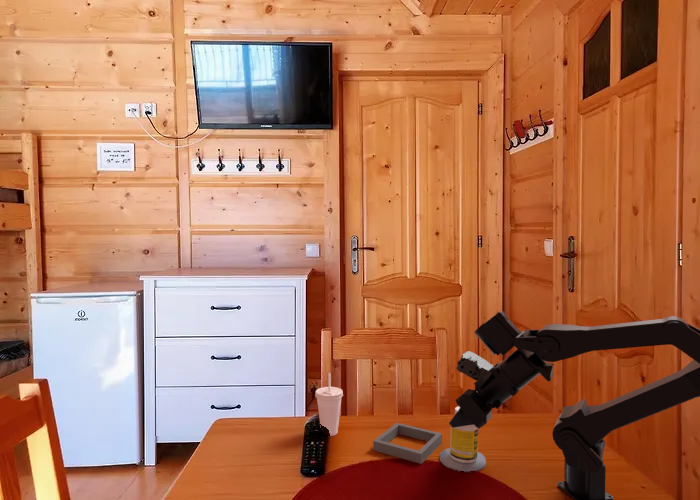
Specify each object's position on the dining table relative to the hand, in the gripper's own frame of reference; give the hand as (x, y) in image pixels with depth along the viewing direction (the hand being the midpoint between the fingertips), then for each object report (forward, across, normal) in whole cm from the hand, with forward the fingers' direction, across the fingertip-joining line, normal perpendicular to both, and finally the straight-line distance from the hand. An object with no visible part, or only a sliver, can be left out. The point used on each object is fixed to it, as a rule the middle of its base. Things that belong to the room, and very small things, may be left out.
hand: (456, 419), depth 93 cm
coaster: (+5, 0, +7) cm, 8 cm away
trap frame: (+13, 0, -2) cm, 13 cm away
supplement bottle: (+4, 0, +6) cm, 8 cm away
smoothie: (+26, +3, -15) cm, 30 cm away
